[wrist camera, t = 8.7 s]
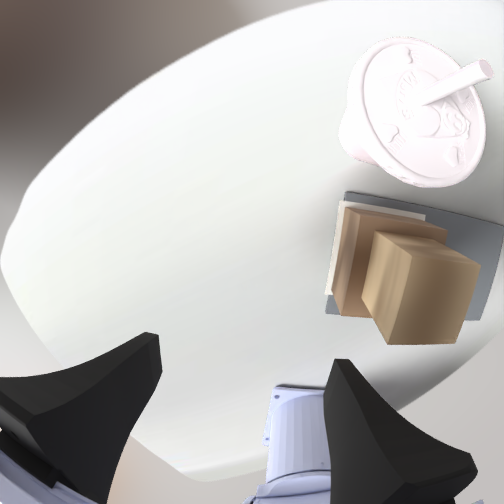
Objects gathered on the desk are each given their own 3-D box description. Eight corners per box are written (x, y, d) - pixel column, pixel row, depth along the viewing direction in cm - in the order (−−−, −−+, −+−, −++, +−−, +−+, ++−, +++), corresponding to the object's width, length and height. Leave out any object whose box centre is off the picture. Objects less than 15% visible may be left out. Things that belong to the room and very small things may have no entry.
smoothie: (331, 80, 16) (400, -51, 3) (412, 114, 16) (554, 64, 3) (308, 163, 18) (371, 132, 5) (392, 194, 18) (544, 238, 4)
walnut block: (403, 296, 19) (424, 320, 15) (331, 289, 20) (340, 315, 16) (420, 219, 18) (448, 230, 14) (344, 206, 18) (360, 215, 14)
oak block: (433, 239, 14) (481, 265, 9) (417, 301, 15) (454, 343, 10) (374, 230, 14) (412, 256, 10) (361, 297, 15) (387, 344, 11)
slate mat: (477, 318, 19) (480, 320, 19) (320, 310, 21) (320, 313, 20) (502, 226, 17) (505, 227, 16) (339, 190, 18) (341, 191, 18)
